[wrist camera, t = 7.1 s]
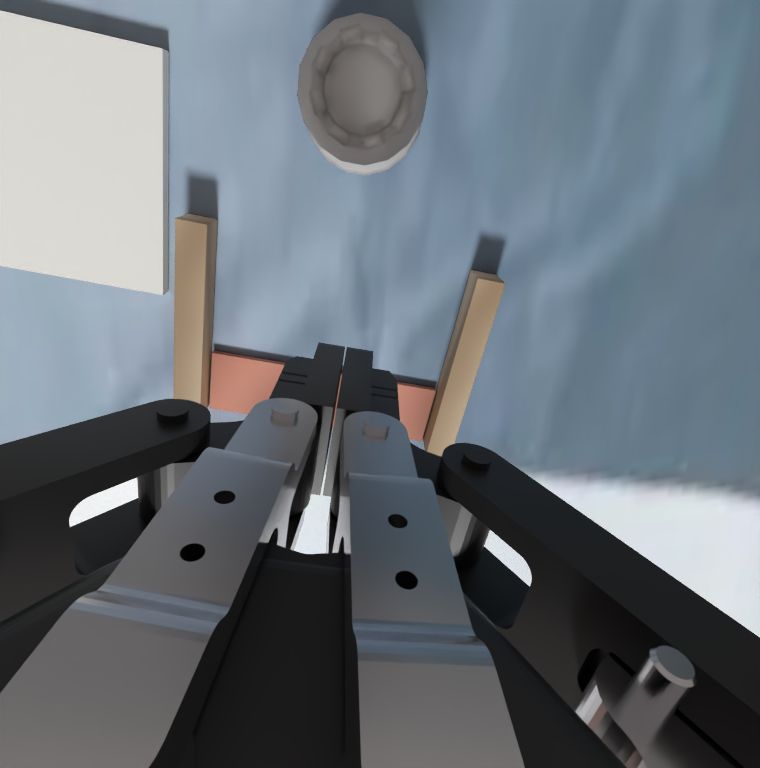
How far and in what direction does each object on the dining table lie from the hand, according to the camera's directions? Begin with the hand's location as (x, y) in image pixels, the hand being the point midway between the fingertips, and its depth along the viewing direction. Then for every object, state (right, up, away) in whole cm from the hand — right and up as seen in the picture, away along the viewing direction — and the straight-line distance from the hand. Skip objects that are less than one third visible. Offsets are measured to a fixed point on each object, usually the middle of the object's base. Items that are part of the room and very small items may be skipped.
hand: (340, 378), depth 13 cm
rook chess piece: (0, +10, +5) cm, 12 cm away
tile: (-12, +9, +5) cm, 16 cm away
